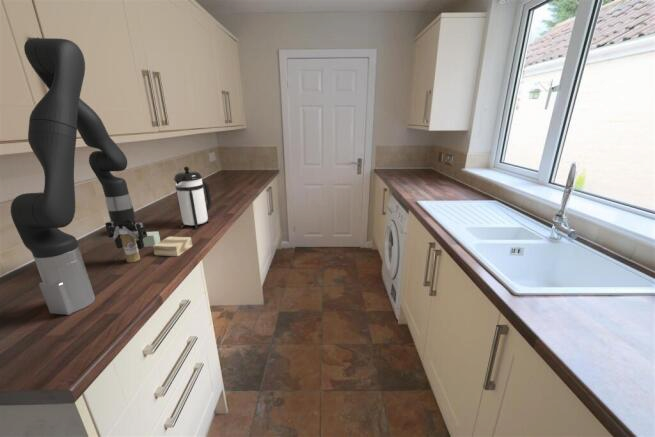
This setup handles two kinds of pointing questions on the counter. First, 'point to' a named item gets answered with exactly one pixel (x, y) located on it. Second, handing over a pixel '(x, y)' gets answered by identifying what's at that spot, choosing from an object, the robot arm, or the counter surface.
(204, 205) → the coffee press
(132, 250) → the sprinkles bottle
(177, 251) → the beech pedestal block
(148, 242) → the sage painted cube
